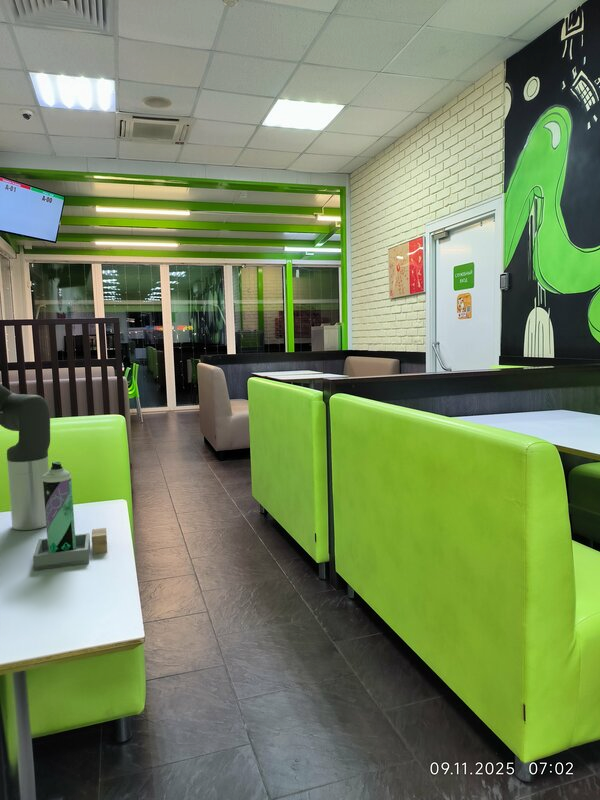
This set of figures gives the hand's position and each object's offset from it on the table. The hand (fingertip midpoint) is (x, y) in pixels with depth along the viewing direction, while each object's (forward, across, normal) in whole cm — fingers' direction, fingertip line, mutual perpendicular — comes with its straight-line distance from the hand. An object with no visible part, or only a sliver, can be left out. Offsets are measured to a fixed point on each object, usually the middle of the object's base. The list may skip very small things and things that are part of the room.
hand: (0, 415), depth 108 cm
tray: (+10, +1, +32) cm, 34 cm away
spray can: (+10, +1, +31) cm, 33 cm away
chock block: (+18, +1, +32) cm, 37 cm away
